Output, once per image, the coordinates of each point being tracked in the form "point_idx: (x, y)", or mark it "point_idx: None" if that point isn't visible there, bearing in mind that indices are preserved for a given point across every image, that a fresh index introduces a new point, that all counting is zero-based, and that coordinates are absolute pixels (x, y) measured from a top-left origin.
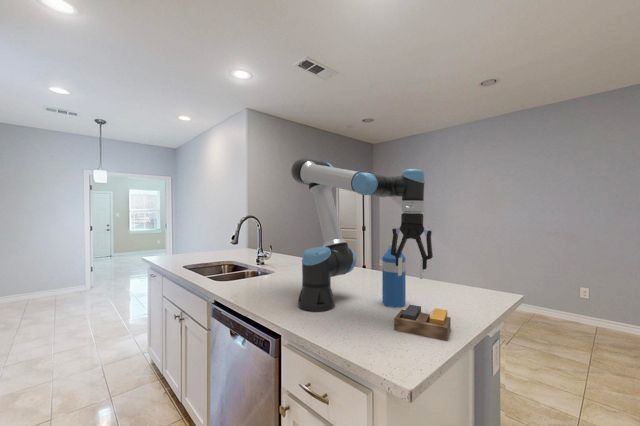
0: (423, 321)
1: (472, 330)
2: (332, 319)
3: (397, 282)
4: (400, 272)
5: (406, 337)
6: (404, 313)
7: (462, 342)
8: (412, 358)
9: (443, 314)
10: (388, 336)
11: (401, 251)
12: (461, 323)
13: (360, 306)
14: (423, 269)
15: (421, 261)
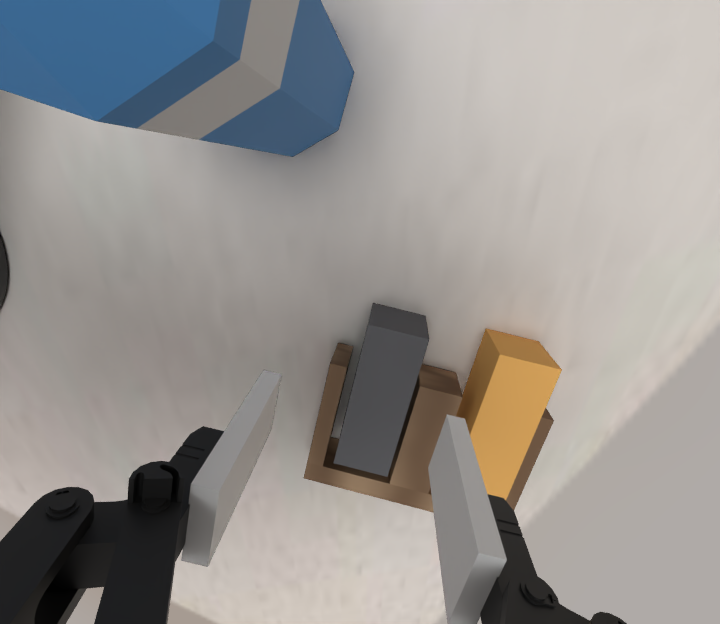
0: (421, 487)
1: (629, 386)
2: (71, 398)
3: (262, 132)
4: (265, 436)
5: (358, 493)
6: (343, 458)
7: (545, 496)
8: (373, 603)
9: (523, 435)
10: (299, 497)
11: (168, 606)
12: (611, 316)
13: (116, 194)
14: (477, 472)
15: (460, 612)
